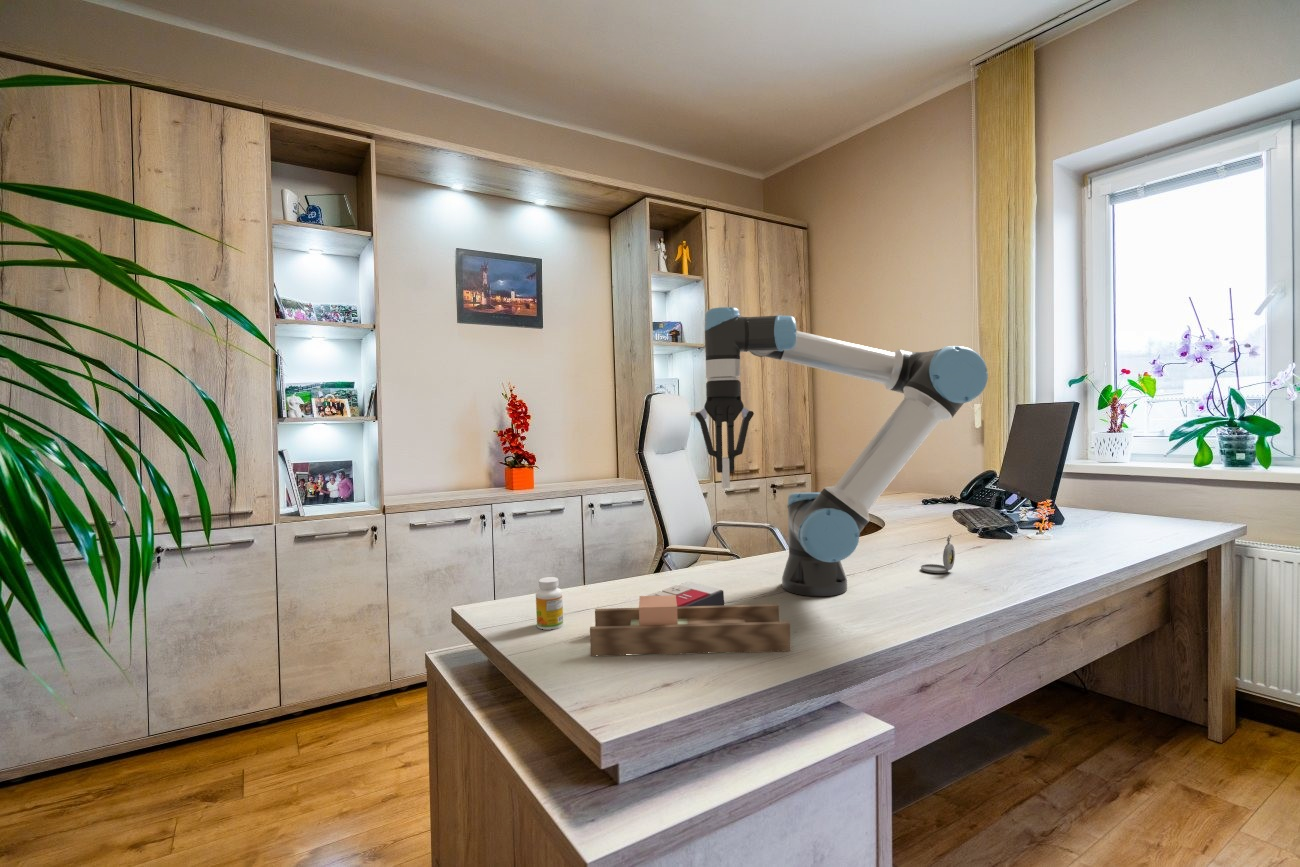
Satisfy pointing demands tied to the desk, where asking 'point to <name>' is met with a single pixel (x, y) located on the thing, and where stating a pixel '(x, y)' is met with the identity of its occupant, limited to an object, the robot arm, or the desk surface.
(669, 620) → the block
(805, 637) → the desk surface
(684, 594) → the calculator
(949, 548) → the pocket watch
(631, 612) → the trap channel
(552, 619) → the supplement bottle
